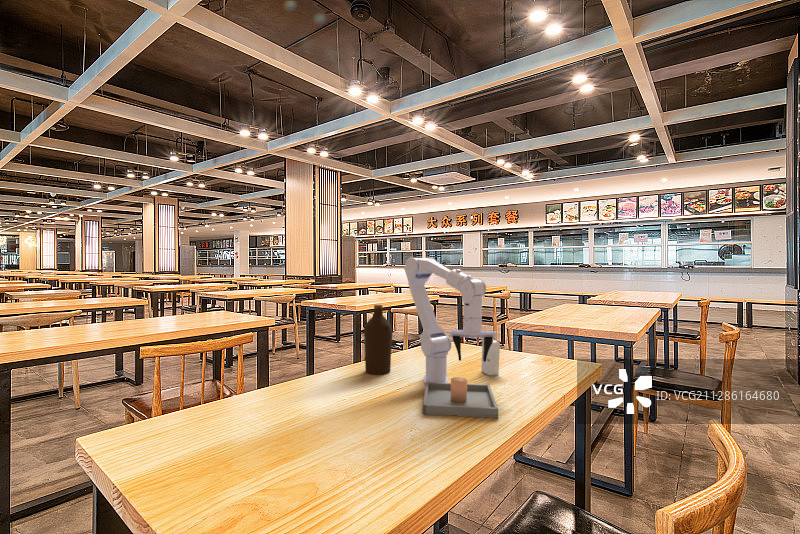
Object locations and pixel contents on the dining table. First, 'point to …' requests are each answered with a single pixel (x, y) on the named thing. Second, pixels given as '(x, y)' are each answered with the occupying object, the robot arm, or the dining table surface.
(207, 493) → the dining table surface
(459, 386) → the pink rounded cylinder
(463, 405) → the tray
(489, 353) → the skincare box
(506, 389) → the dining table surface
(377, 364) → the olive oil
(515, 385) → the dining table surface
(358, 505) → the dining table surface
